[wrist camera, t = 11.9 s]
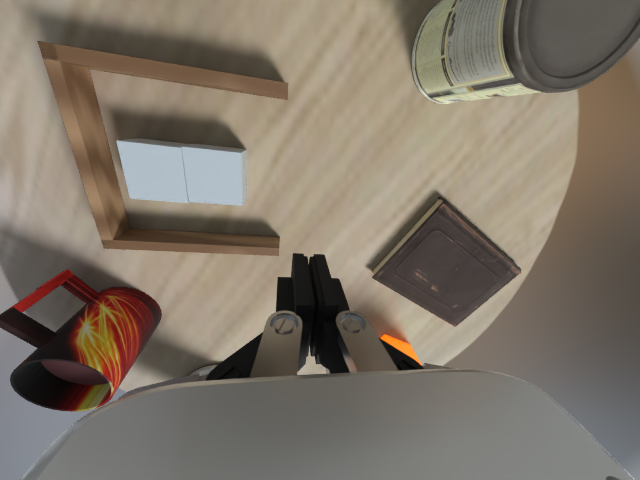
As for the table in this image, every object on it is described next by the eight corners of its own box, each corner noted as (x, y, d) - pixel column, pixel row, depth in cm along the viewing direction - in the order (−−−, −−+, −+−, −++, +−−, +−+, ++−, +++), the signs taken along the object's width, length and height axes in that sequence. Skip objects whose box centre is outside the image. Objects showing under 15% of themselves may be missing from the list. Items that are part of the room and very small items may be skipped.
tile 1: (247, 196, 31) (242, 205, 28) (200, 192, 30) (188, 201, 27) (246, 149, 29) (241, 153, 25) (194, 143, 28) (181, 146, 24)
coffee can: (489, -32, 24) (709, -199, 11) (501, 75, 29) (667, 40, 16) (397, 27, 25) (507, -66, 13) (423, 121, 30) (522, 121, 17)
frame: (279, 243, 35) (278, 255, 32) (121, 235, 31) (103, 248, 28) (288, 87, 26) (288, 83, 23) (71, 51, 23) (37, 40, 20)
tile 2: (199, 193, 31) (188, 202, 27) (148, 189, 30) (130, 198, 26) (194, 144, 28) (181, 147, 24) (138, 137, 27) (116, 140, 23)
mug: (70, 262, 32) (-35, 331, 22) (171, 303, 37) (126, 375, 27) (51, 308, 35) (-51, 389, 25) (147, 339, 40) (98, 418, 30)
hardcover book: (448, 318, 48) (455, 327, 46) (368, 270, 40) (372, 278, 38) (512, 263, 44) (523, 270, 42) (437, 195, 35) (446, 200, 33)
